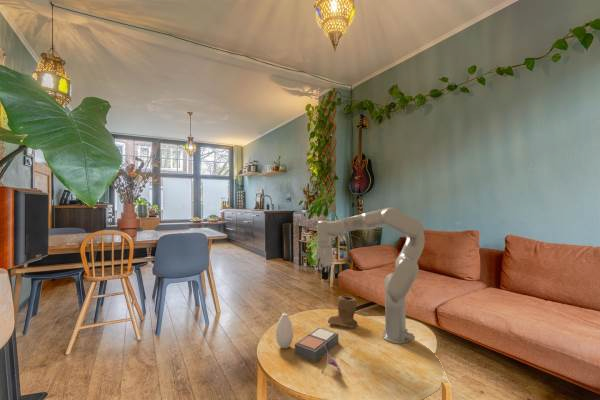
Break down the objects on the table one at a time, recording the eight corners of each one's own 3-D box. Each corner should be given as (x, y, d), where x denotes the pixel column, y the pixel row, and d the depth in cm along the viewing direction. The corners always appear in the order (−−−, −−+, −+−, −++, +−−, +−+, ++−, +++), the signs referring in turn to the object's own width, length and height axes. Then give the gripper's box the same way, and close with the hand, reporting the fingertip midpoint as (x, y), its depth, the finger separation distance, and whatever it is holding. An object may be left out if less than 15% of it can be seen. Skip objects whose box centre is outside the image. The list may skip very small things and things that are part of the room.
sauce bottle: (282, 341, 134) (281, 304, 134) (296, 345, 130) (295, 307, 130) (272, 349, 127) (272, 310, 127) (287, 353, 123) (287, 313, 123)
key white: (334, 338, 131) (334, 333, 131) (326, 345, 125) (326, 339, 125) (319, 333, 136) (319, 328, 136) (310, 340, 130) (310, 334, 130)
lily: (337, 388, 101) (348, 362, 103) (309, 370, 105) (320, 345, 107) (339, 378, 113) (349, 355, 115) (313, 362, 116) (323, 340, 118)
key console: (338, 343, 132) (338, 333, 132) (315, 362, 116) (315, 352, 116) (319, 336, 138) (318, 327, 138) (294, 354, 122) (294, 344, 122)
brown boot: (359, 322, 155) (359, 295, 155) (354, 331, 144) (354, 302, 144) (333, 317, 161) (333, 291, 161) (327, 326, 150) (327, 298, 150)
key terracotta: (324, 346, 124) (324, 341, 124) (314, 354, 118) (314, 348, 118) (308, 341, 129) (308, 336, 129) (298, 348, 122) (298, 343, 123)
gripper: (325, 241, 153) (326, 275, 153) (310, 245, 141) (311, 281, 141) (337, 243, 148) (338, 277, 148) (323, 246, 136) (323, 283, 136)
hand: (324, 279), depth 144 cm, fingers closed
